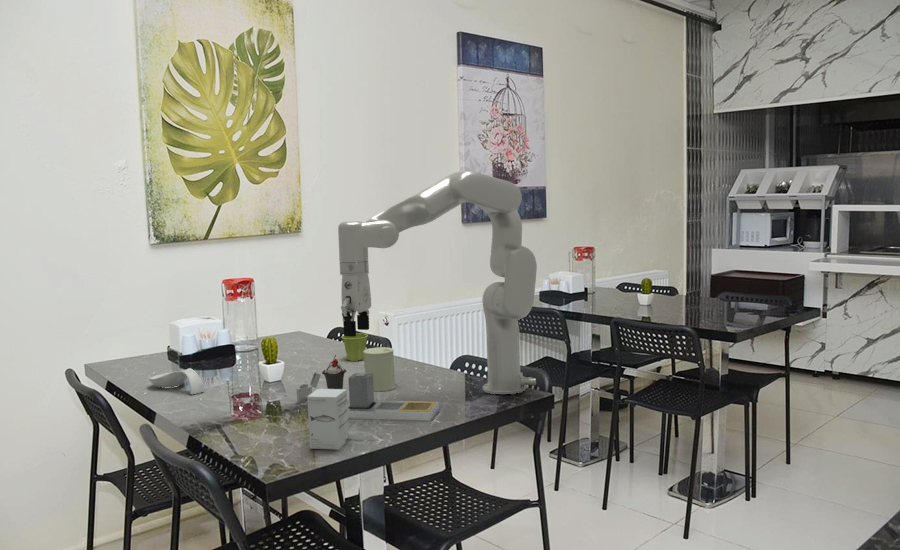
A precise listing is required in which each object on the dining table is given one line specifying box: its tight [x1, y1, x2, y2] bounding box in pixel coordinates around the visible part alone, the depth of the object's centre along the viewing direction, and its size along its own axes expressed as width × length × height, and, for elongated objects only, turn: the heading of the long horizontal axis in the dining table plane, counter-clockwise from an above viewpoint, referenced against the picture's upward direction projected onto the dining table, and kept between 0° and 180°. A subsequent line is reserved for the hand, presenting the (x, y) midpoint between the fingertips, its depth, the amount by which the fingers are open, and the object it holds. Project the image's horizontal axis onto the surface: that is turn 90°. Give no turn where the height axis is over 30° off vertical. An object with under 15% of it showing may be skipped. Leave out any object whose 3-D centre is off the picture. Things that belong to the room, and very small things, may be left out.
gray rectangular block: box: [347, 372, 375, 409], centre depth 191 cm, size 5×5×10 cm
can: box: [363, 346, 396, 393], centre depth 220 cm, size 9×9×12 cm
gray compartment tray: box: [347, 399, 440, 425], centre depth 190 cm, size 24×10×3 cm, turn 78°
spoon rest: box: [148, 367, 206, 395], centre depth 229 cm, size 24×12×7 cm, turn 49°
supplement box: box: [307, 388, 349, 451], centre depth 170 cm, size 7×7×13 cm
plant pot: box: [340, 332, 369, 362], centre depth 261 cm, size 9×9×9 cm
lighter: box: [296, 371, 322, 405], centre depth 208 cm, size 7×2×8 cm, turn 126°
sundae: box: [321, 354, 348, 389], centre depth 201 cm, size 7×7×15 cm
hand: (356, 332), depth 193 cm, fingers open, 9 cm apart
